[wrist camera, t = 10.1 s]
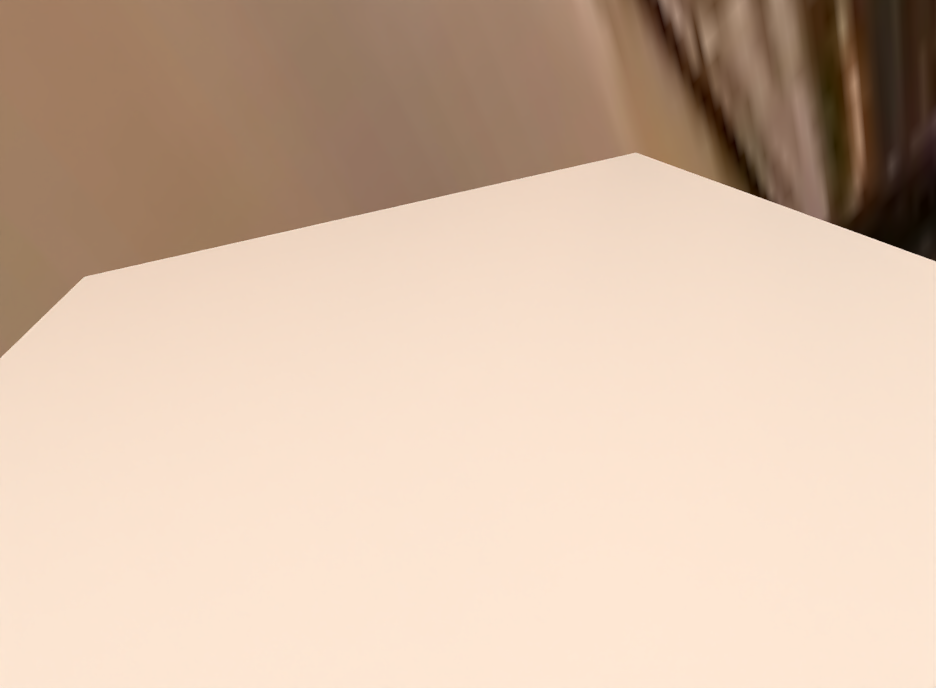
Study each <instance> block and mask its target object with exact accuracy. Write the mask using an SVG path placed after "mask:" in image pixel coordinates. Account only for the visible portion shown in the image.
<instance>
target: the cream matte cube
mask: <svg viewBox="0 0 936 688" xmlns="http://www.w3.org/2000/svg"><path fill="white" fill-rule="evenodd" d="M0 688H936V262H935V261H932V260H930V259H927V258H924V257H921V256H919V255H916V254H913V253H910V252H908V251H905V250H902V249H899V248H897V247H894V246H891V245H888V244H886V243H883V242H880V241H877V240H875V239H872V238H869V237H866V236H864V235H861V234H858V233H855V232H853V231H850V230H847V229H844V228H842V227H839V226H836V225H833V224H831V223H828V222H825V221H822V220H820V219H817V218H814V217H811V216H809V215H806V214H803V213H800V212H798V211H795V210H792V209H789V208H787V207H784V206H781V205H778V204H776V203H773V202H770V201H767V200H765V199H762V198H759V197H756V196H754V195H751V194H748V193H746V192H743V191H740V190H737V189H735V188H732V187H729V186H726V185H724V184H721V183H718V182H715V181H713V180H710V179H707V178H704V177H702V176H699V175H696V174H693V173H691V172H688V171H685V170H682V169H680V168H677V167H674V166H671V165H669V164H666V163H663V162H660V161H658V160H655V159H652V158H649V157H647V156H644V155H641V154H638V153H633V154H628V155H624V156H619V157H615V158H611V159H606V160H602V161H597V162H593V163H588V164H584V165H579V166H575V167H571V168H566V169H562V170H557V171H553V172H548V173H544V174H539V175H535V176H531V177H526V178H522V179H517V180H513V181H508V182H504V183H499V184H495V185H491V186H486V187H482V188H477V189H473V190H468V191H464V192H459V193H455V194H451V195H446V196H442V197H437V198H433V199H428V200H424V201H420V202H415V203H411V204H406V205H402V206H397V207H393V208H388V209H384V210H380V211H375V212H371V213H366V214H362V215H357V216H353V217H348V218H344V219H340V220H335V221H331V222H326V223H322V224H317V225H313V226H308V227H304V228H300V229H295V230H291V231H286V232H282V233H277V234H273V235H268V236H264V237H260V238H255V239H251V240H246V241H242V242H237V243H233V244H228V245H224V246H220V247H215V248H211V249H206V250H202V251H197V252H193V253H189V254H184V255H180V256H175V257H171V258H166V259H162V260H157V261H153V262H149V263H144V264H140V265H135V266H131V267H126V268H122V269H117V270H113V271H109V272H104V273H100V274H95V275H91V276H86V277H84V278H83V279H82V280H80V281H79V282H78V283H77V284H76V285H75V286H74V287H73V288H72V289H71V290H70V291H69V292H68V293H67V294H66V295H65V296H64V297H63V298H62V299H61V300H60V301H59V302H58V303H57V304H56V305H55V306H54V307H53V308H52V309H51V310H50V311H49V312H48V313H46V314H45V315H44V316H43V317H42V318H41V319H40V320H39V321H38V322H37V323H36V324H35V325H34V326H33V327H32V328H31V329H30V330H29V331H28V332H27V333H26V334H25V335H24V336H23V337H22V338H21V339H20V340H19V341H18V342H17V343H16V344H15V345H14V346H12V347H11V348H10V349H9V350H8V351H7V352H6V353H5V354H4V355H3V356H2V357H1V358H0Z"/></svg>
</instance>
